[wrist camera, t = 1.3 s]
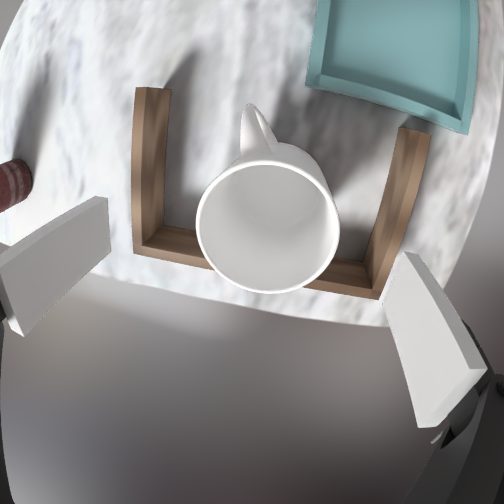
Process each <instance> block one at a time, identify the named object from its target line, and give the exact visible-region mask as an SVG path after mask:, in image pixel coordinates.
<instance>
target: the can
mask: <svg viewBox="0 0 504 504" xmlns="http://www.w3.org/2000/svg"><path fill="white" fill-rule="evenodd" d="M31 186H32V179H31V173H30V170H29V168H28V166H27V165H26V163H25V162H23V161H22V160H19V159H13V160H11V161H8V162H5V163H3V164H0V213H1V212H3V211H5V210H6V209H8V208H10V207H12V206H14V205H16V204H18V203H19V202H21V201H23V200H25V199H26V198H27V197H28V195H29V193H30V191H31Z"/></svg>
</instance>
